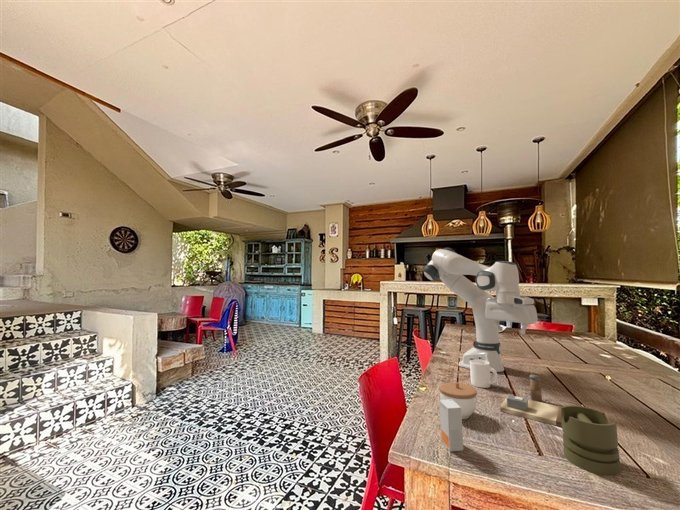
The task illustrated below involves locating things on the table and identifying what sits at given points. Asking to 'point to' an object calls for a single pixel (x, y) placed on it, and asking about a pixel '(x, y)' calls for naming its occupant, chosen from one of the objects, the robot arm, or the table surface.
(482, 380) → the mug
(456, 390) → the lidded bowl
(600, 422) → the piston
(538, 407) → the plank
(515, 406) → the block
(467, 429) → the table surface
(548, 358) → the table surface
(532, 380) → the peg
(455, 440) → the skincare box
